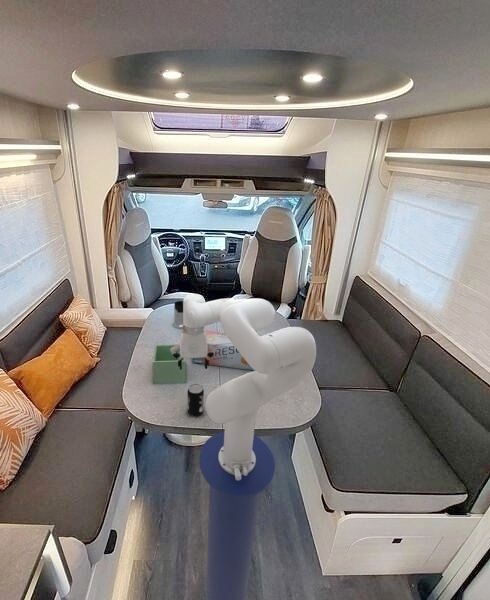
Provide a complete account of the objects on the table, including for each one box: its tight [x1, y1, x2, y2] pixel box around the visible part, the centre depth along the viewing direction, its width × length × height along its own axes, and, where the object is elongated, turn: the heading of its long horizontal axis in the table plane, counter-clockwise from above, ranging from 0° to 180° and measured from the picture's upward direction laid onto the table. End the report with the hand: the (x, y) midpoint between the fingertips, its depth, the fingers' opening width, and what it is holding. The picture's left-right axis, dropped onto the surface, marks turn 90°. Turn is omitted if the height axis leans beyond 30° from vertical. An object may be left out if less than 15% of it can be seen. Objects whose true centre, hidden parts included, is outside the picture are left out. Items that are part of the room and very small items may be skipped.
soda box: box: [191, 329, 255, 372], centre depth 160 cm, size 41×14×13 cm, turn 80°
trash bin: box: [152, 343, 187, 384], centre depth 149 cm, size 15×15×12 cm
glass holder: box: [173, 300, 183, 329], centre depth 196 cm, size 9×14×15 cm, turn 105°
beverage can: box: [186, 383, 205, 418], centre depth 126 cm, size 7×7×12 cm
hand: (193, 367), depth 120 cm, fingers open, 9 cm apart
